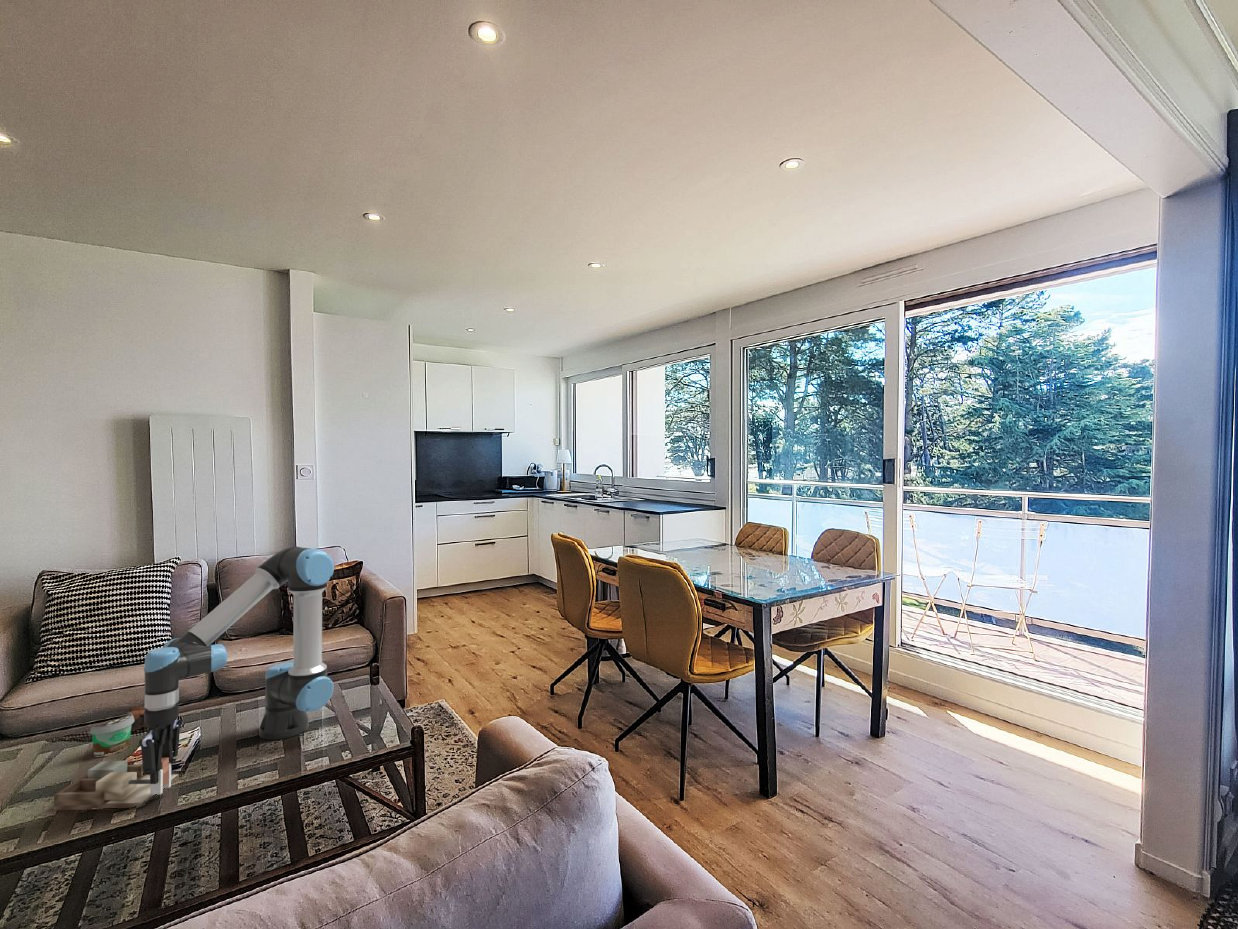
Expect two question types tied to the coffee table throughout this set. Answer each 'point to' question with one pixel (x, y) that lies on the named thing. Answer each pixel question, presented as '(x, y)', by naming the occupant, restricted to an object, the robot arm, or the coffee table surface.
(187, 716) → the coffee table surface
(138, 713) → the pottery mug
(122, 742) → the food container
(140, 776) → the lane rack
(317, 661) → the robot arm
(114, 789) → the pull block
